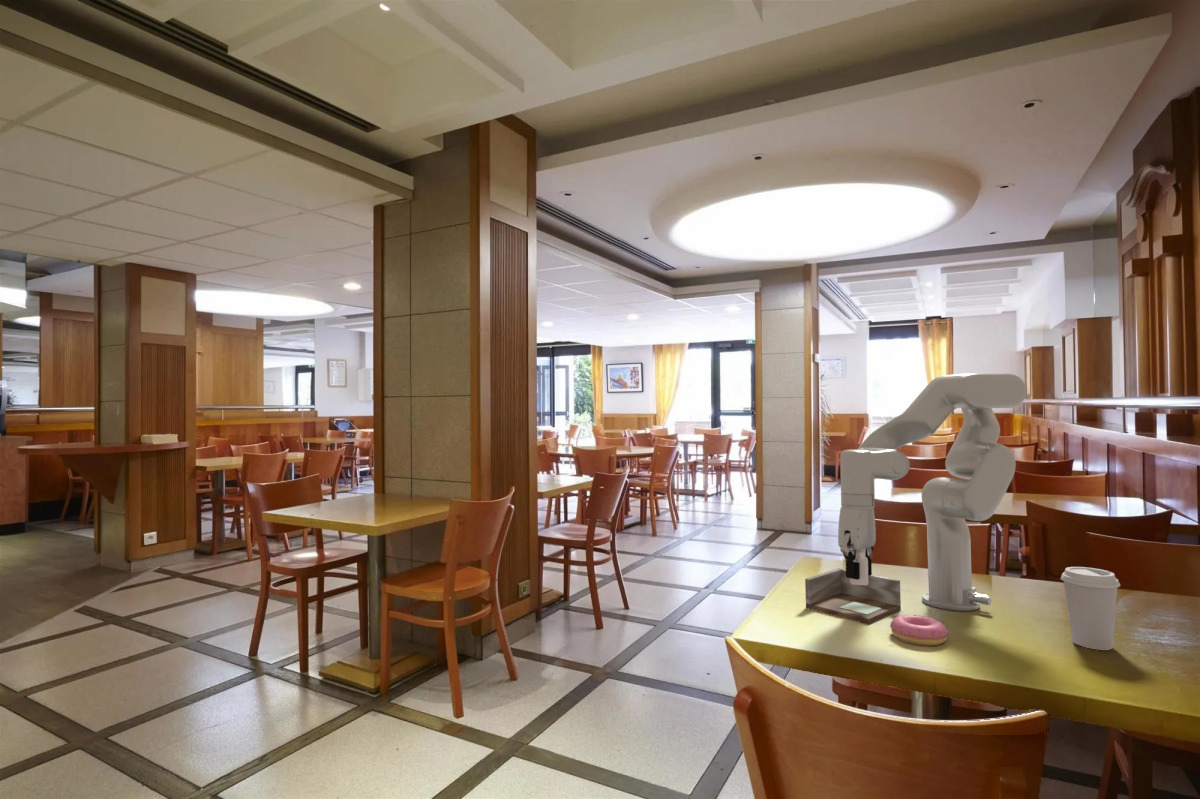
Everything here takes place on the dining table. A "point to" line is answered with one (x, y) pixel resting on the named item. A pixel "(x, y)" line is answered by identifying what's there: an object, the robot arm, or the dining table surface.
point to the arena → (853, 596)
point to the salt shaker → (861, 569)
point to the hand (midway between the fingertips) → (858, 575)
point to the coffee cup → (1091, 605)
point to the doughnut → (919, 630)
